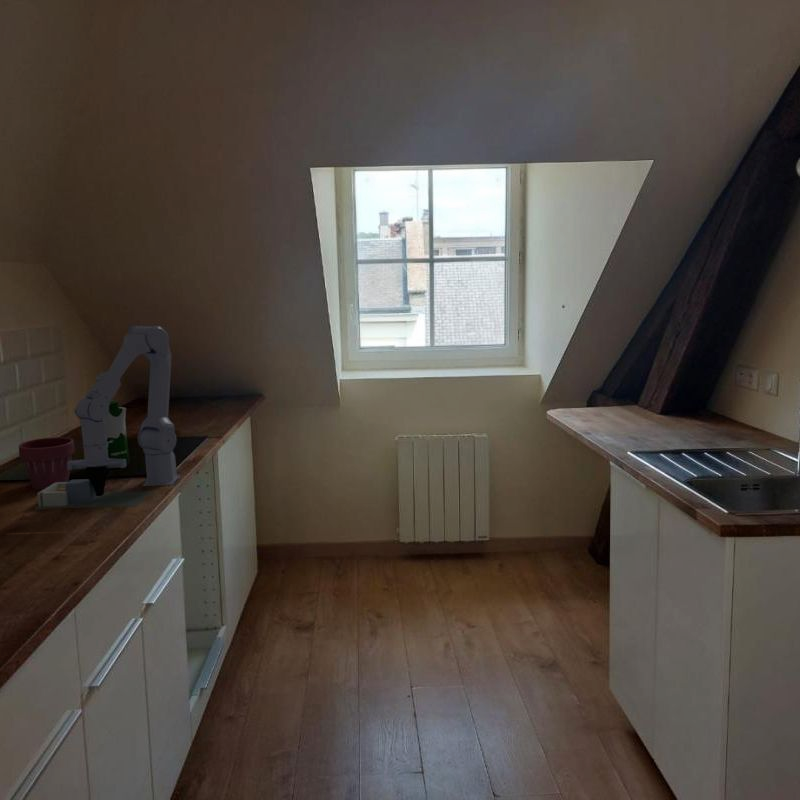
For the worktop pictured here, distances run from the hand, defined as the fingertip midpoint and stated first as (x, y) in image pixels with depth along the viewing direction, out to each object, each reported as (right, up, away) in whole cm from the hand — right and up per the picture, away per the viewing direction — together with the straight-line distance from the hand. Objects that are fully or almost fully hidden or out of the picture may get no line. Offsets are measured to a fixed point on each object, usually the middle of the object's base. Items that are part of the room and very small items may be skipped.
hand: (100, 495), depth 198 cm
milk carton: (-11, +4, +39) cm, 41 cm away
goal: (-10, -1, 0) cm, 10 cm away
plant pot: (-20, 0, +16) cm, 26 cm away
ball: (-10, 0, -1) cm, 10 cm away
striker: (-5, -1, 0) cm, 5 cm away
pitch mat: (-1, -2, 0) cm, 2 cm away
